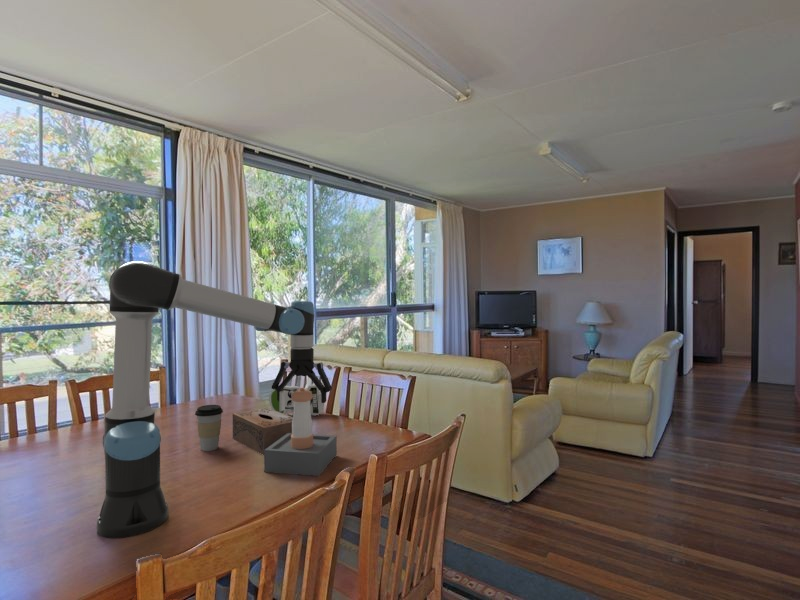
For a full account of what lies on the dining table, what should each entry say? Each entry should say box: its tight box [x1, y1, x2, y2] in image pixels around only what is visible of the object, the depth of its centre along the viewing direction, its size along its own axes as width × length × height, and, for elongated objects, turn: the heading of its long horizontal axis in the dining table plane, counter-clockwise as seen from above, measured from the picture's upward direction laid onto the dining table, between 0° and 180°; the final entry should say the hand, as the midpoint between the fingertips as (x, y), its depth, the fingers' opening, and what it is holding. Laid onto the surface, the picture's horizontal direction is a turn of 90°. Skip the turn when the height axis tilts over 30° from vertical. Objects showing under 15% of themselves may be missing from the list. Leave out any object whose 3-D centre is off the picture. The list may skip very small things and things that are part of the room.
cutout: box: [268, 383, 321, 416], centre depth 210 cm, size 15×3×25 cm
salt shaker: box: [291, 387, 314, 449], centre depth 150 cm, size 7×7×19 cm
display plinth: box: [263, 433, 338, 477], centre depth 150 cm, size 18×18×7 cm
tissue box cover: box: [232, 406, 293, 456], centre depth 172 cm, size 26×14×10 cm, turn 44°
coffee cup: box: [194, 404, 224, 452], centre depth 165 cm, size 9×9×15 cm
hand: (301, 411), depth 150 cm, fingers open, 13 cm apart
